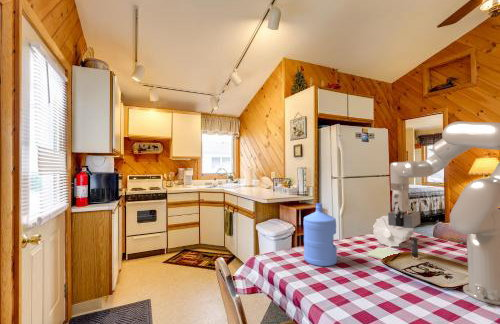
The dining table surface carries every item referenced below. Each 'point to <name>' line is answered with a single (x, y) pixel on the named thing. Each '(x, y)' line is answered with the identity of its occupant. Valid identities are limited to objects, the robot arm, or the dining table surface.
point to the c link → (405, 219)
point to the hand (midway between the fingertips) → (400, 225)
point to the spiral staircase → (390, 232)
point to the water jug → (319, 238)
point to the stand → (414, 247)
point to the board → (381, 253)
